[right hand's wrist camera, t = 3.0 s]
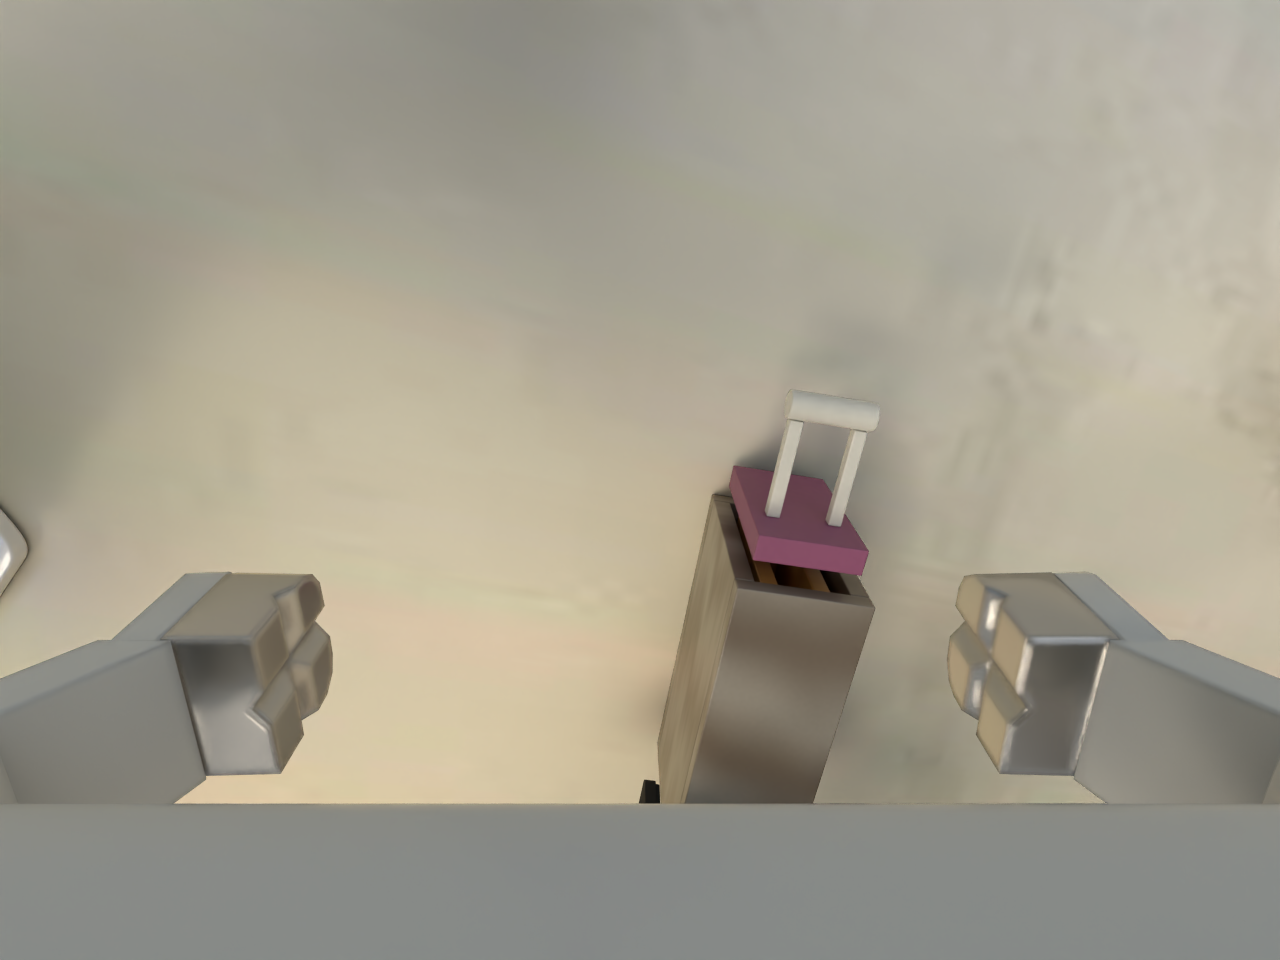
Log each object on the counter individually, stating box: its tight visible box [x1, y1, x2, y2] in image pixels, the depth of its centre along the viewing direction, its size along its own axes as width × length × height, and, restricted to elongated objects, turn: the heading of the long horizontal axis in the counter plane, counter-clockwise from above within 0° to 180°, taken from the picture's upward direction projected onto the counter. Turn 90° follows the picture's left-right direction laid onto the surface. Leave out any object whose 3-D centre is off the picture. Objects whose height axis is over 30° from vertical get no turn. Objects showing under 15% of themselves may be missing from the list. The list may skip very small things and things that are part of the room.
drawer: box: [729, 389, 880, 592], centre depth 38 cm, size 21×5×8 cm, turn 170°
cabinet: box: [658, 495, 875, 804], centre depth 40 cm, size 17×6×10 cm, turn 170°
